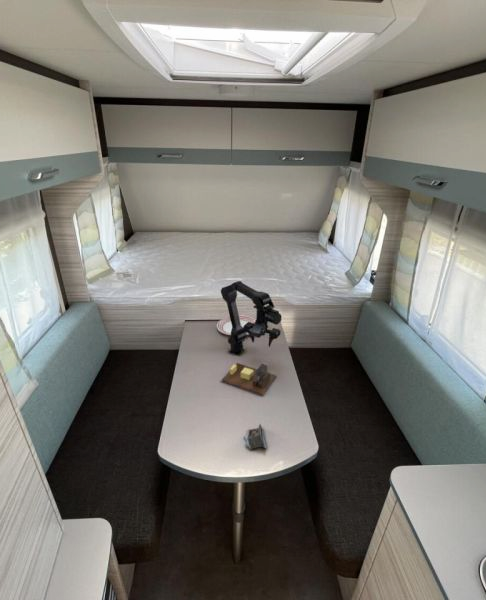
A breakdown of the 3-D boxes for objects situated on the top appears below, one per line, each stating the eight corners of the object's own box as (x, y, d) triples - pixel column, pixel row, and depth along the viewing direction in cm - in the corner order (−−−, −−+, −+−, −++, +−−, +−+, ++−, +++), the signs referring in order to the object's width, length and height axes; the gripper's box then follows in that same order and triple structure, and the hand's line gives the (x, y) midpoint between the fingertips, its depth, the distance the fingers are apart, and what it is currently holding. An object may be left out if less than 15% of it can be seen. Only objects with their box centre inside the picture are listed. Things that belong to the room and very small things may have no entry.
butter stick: (240, 377, 163) (240, 372, 162) (244, 372, 167) (244, 367, 165) (249, 380, 161) (249, 375, 159) (253, 375, 164) (253, 370, 163)
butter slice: (229, 373, 165) (229, 368, 164) (234, 369, 169) (234, 364, 168) (232, 374, 165) (232, 369, 164) (236, 370, 168) (236, 364, 167)
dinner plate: (219, 341, 198) (218, 336, 197) (215, 320, 223) (215, 316, 221) (263, 337, 202) (263, 332, 201) (254, 318, 227) (254, 313, 225)
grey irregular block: (244, 427, 135) (240, 428, 124) (260, 422, 135) (258, 423, 124) (250, 452, 131) (247, 454, 120) (267, 447, 131) (265, 449, 120)
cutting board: (221, 381, 162) (221, 375, 160) (237, 365, 175) (237, 358, 173) (262, 395, 153) (262, 388, 151) (275, 377, 166) (275, 370, 164)
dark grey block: (255, 384, 158) (255, 371, 154) (262, 375, 164) (262, 362, 161) (260, 386, 156) (261, 372, 153) (267, 377, 163) (268, 364, 160)
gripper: (238, 320, 161) (238, 347, 167) (273, 328, 153) (271, 356, 159) (248, 311, 170) (247, 337, 176) (281, 319, 162) (280, 346, 168)
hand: (261, 344), depth 170 cm, fingers open, 9 cm apart
